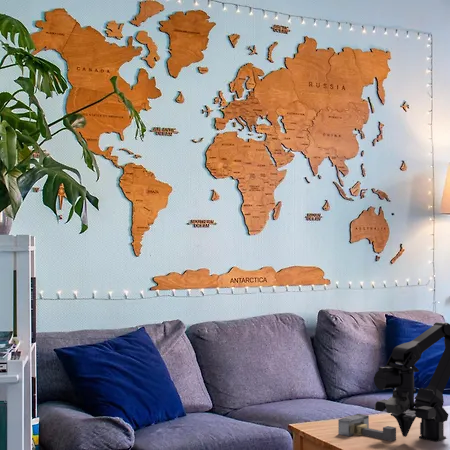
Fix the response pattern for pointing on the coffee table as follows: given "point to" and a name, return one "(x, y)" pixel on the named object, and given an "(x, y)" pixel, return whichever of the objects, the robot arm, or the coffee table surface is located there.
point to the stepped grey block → (381, 433)
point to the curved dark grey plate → (351, 423)
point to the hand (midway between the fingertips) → (404, 436)
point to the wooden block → (359, 428)
